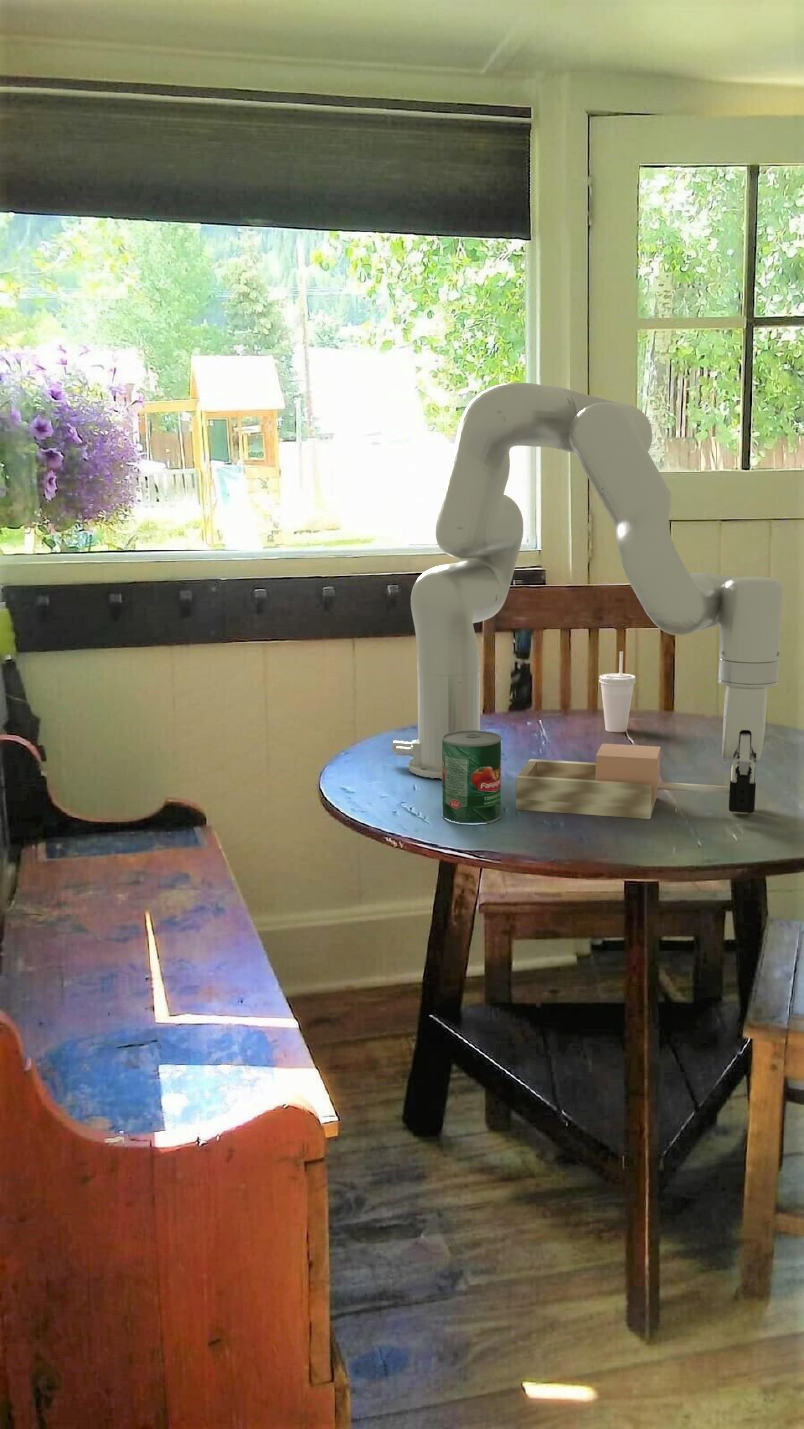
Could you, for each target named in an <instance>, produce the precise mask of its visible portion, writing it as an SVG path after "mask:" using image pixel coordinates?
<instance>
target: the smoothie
mask: <svg viewBox="0 0 804 1429" xmlns="http://www.w3.org/2000/svg"><path fill="white" fill-rule="evenodd" d="M623 660H624V651H619V668H618V672H617V673H616V672H614V673H611V672H610V673H604V674H600V675H599V680H598V682H599V683H600V687H601V688H600V689H601V696H602V697H601V698H602V708H603V716H604V717H603V719H604V726H605V731H606V732H611V733H624V732H627V729H628V724H629V718H630V717H629V716H630V713H631V712H630V711H631V703H632V698H633V692H634V686H635V685H634V684H636V683H637V680H636V678H637V677H636V675H634V674H629V673H623V667H624V666H623V662H624V661H623Z"/></svg>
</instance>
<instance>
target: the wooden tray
mask: <svg viewBox="0 0 804 1429" xmlns="http://www.w3.org/2000/svg"><path fill="white" fill-rule="evenodd" d="M595 773H596V762H587V761H585V762H584V761H571V760H570V761H569V760H555V759H554V760H552V759H551V760H550V759H538V758H537V759H535V758H530V759H529V760H528V761H527V763H526V764H525V765H524V767H523V768H522V769H521V770H520V772H519V774H518V775H517V776H516V779H515V781H516V782H515V785H516V786H515V787H516V788H515V810H518V811H533V812H544V813H545V812H547V813H560V814H575V815H588V816H600V817H601V816H602V817H615V818H616V817H617V818H627V819H628V818H629V819H631V818H632V819H643V820H644V819H645V820H650V819H651V818H652V815H653V811H654V807H655V803H656V802H651V801H652V784H645V783H629V782H614V781H598V780H595Z"/></svg>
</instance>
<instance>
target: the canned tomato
mask: <svg viewBox="0 0 804 1429" xmlns="http://www.w3.org/2000/svg"><path fill="white" fill-rule="evenodd" d="M501 761H502V736H501V735H500V734H498V733H495V732H493V731H486V730H480V731H476V730H467V731H456V732H450V733H447V734H445V735H443V736H442V779H441V781H442V785H441V786H442V790H441V792H442V793H441V794H442V796H441V797H442V800H441V801H442V802H441V804H442V813H443V817H444V818H447V819H449V820H451V821H455V822H459V823H490V824H492V823H491V822H494V821H496V822H498V821H499V820H500V819H502V818H501V817H502V814H501V809H502V806H501V804H502V803H501V802H502V800H501V799H502V794H501V793H502V790H501V788H502V787H501V786H502V785H501V782H502V779H501V778H502V776H501V775H502V767H501V765H502V762H501ZM499 818H500V819H499ZM498 819H499V820H498ZM497 820H498V821H497ZM494 823H495V822H494Z"/></svg>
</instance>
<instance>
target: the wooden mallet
mask: <svg viewBox="0 0 804 1429" xmlns="http://www.w3.org/2000/svg"><path fill="white" fill-rule="evenodd" d="M661 748H662V747H661V746H656V745H655V746H651V745H638V744H637V745H635V744H633V745H632V744H616V743H614V744H613V743H601V744H600V747H599V749H598V751H597V752H596V755H595V763H596V773H595V780H598V781H614V782H629V783H645V784H652V801H651V802H655V803H656V801H657V798H658V793H659V790H661V791H662V790H663V791H664V790H665V791H679V792H680V791H681V792H696V793H697V792H698V793H712V794H725V795H726V794H727V795H729V793H730V785H729V786H728V785H713V784H698V783H697V784H696V783H683V782H682V783H680V782H669V781H668V782H666V781H660V775H661V774H660V773H661V772H660V769H661V767H660V766H661ZM737 766H739V765H737ZM749 766H750V767H751V765H749ZM732 773H733V764H732V765H731V766H730V774H731V781H732ZM754 774H755V775H756V771H755V772H754ZM736 777H737V774H736ZM736 781H737V780H736ZM733 813H735V814H741V815H742V814H747V813H742V812H733Z"/></svg>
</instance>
